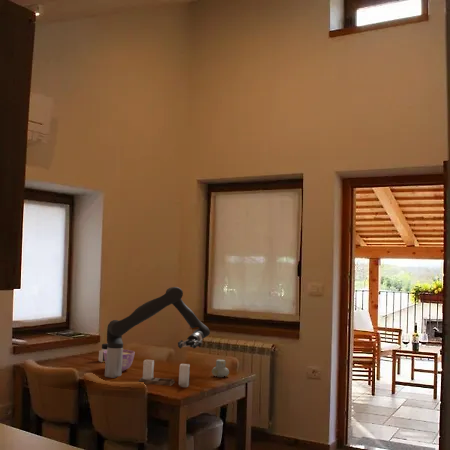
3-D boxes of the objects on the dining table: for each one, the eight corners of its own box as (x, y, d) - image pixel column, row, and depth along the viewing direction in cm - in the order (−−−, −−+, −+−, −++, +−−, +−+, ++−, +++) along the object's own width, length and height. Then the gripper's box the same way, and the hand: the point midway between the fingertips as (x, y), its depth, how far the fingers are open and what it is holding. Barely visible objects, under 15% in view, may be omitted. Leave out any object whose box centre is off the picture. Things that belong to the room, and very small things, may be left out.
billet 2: (178, 386, 311) (179, 365, 312) (180, 384, 316) (181, 363, 317) (187, 387, 311) (188, 365, 312) (188, 385, 316) (189, 364, 317)
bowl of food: (127, 374, 338) (128, 355, 339) (96, 371, 342) (97, 352, 343) (138, 368, 357) (139, 350, 358) (109, 366, 361) (110, 348, 362)
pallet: (136, 384, 311) (136, 380, 311) (141, 380, 322) (141, 376, 322) (171, 387, 309) (171, 382, 309) (175, 383, 320) (175, 378, 320)
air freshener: (209, 375, 347) (210, 359, 348) (220, 374, 352) (220, 358, 353) (220, 378, 339) (220, 362, 339) (230, 377, 344) (231, 361, 344)
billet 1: (142, 382, 314) (143, 360, 315) (144, 380, 319) (145, 359, 320) (150, 382, 313) (152, 361, 314) (153, 381, 318) (154, 360, 319)
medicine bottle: (102, 362, 372) (103, 344, 373) (98, 361, 378) (99, 343, 379) (112, 362, 376) (113, 344, 377) (108, 360, 382) (109, 342, 383)
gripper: (183, 333, 342) (174, 340, 326) (205, 333, 338) (198, 340, 323) (183, 345, 342) (175, 353, 326) (206, 345, 339) (198, 353, 323)
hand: (186, 346), depth 325 cm, fingers open, 8 cm apart
